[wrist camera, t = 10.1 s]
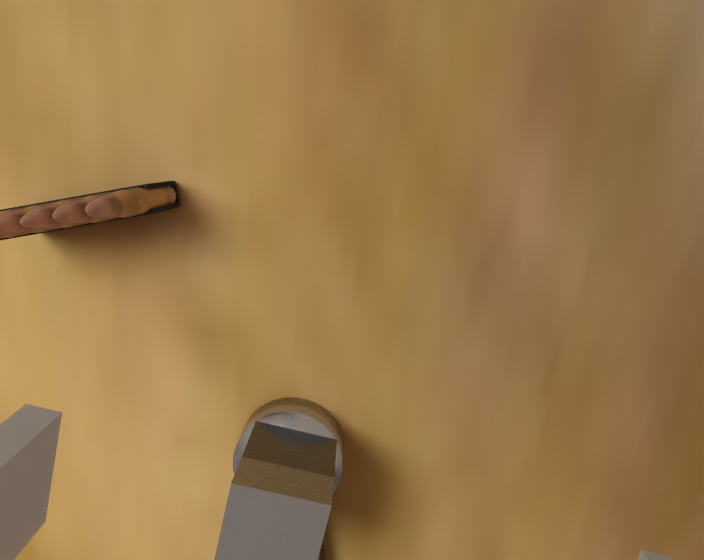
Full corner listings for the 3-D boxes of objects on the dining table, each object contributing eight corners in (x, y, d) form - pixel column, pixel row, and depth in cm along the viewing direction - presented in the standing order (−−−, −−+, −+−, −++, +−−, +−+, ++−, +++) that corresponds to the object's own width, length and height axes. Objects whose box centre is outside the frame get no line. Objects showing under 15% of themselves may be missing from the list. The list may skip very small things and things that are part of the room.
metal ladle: (234, 402, 44) (214, 440, 38) (337, 392, 44) (333, 429, 38) (270, 623, 48) (257, 688, 42) (364, 615, 48) (365, 679, 42)
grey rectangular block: (255, 420, 41) (231, 483, 33) (337, 439, 41) (331, 505, 33) (239, 493, 42) (212, 570, 34) (318, 511, 42) (309, 591, 35)
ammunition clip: (175, 180, 40) (100, 189, 29) (181, 206, 41) (109, 225, 29) (31, 205, 41) (-101, 225, 29) (38, 231, 41) (-90, 260, 30)
